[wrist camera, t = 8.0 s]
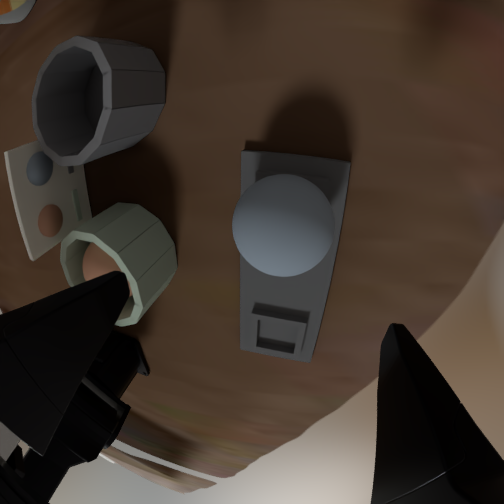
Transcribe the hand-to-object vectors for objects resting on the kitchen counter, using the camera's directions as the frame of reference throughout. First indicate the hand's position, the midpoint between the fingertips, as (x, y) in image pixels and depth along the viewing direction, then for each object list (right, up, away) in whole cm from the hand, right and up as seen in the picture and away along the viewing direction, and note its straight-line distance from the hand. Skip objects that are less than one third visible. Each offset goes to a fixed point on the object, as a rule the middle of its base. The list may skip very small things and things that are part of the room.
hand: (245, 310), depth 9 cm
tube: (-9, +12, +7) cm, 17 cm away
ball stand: (+2, 0, +10) cm, 11 cm away
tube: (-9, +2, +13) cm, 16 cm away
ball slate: (+2, +4, +7) cm, 9 cm away
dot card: (-14, +8, +11) cm, 19 cm away
